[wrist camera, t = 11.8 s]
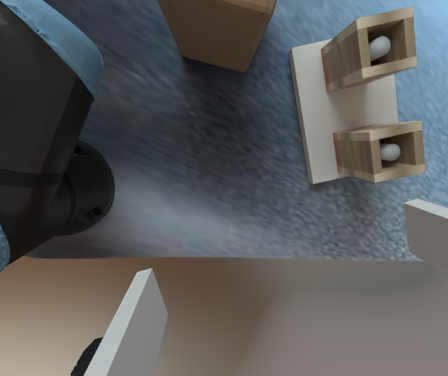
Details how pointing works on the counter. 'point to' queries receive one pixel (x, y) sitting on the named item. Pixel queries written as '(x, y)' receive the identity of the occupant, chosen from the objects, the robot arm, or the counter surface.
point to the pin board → (338, 108)
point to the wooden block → (218, 29)
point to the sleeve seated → (359, 50)
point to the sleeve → (370, 151)
